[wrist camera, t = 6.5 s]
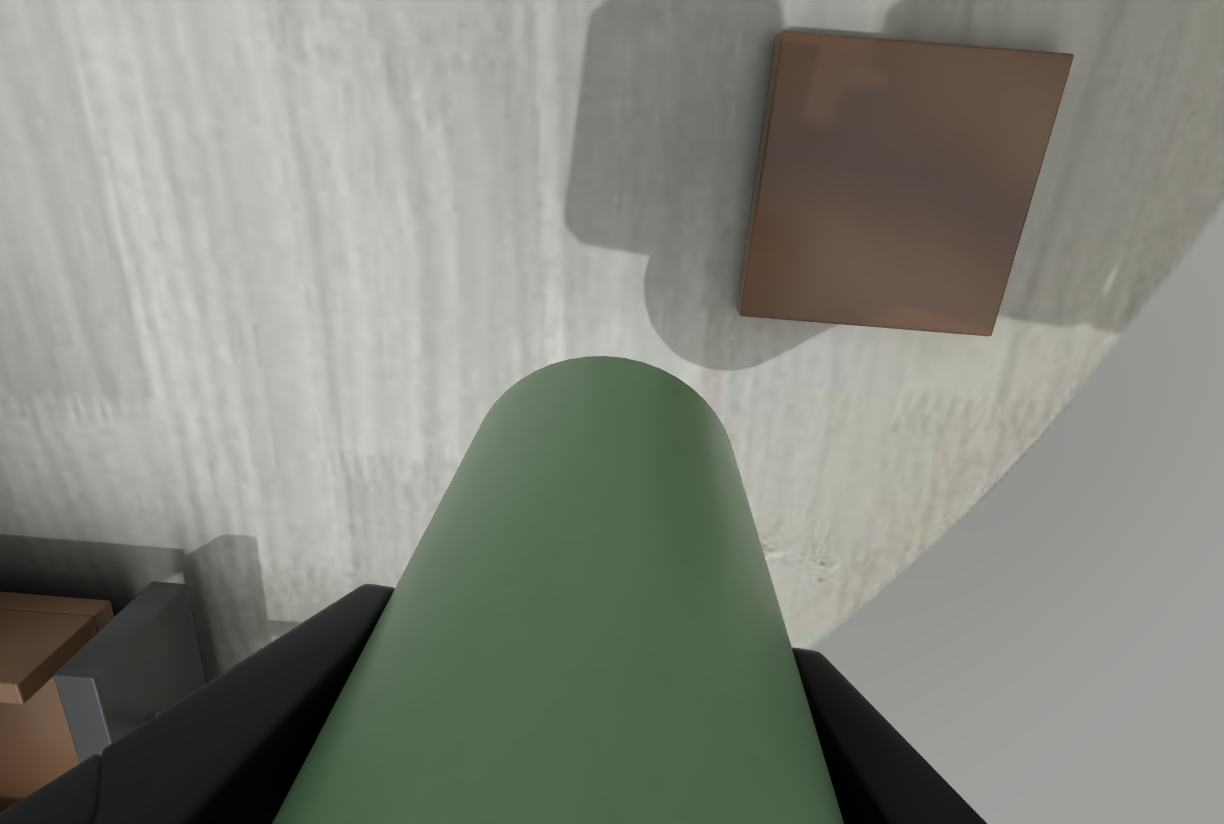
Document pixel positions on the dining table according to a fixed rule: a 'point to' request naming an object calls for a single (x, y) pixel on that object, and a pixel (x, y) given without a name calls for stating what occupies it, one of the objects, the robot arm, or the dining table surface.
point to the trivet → (895, 180)
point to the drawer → (86, 677)
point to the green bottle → (579, 633)
